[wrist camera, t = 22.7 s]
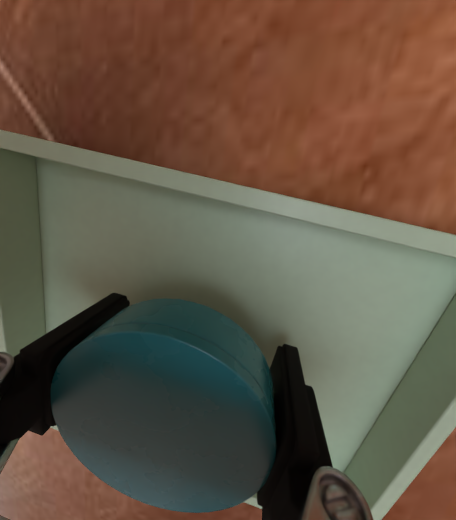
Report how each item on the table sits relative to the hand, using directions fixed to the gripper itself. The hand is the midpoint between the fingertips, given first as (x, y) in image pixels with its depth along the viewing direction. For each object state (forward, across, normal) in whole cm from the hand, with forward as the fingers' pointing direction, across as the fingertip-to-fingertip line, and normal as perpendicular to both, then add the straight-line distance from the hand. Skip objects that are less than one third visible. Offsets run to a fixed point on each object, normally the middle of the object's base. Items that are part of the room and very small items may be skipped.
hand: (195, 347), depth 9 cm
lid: (-3, 0, 0) cm, 3 cm away
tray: (+2, 0, 0) cm, 2 cm away
